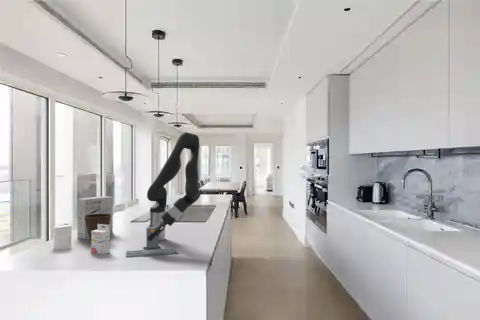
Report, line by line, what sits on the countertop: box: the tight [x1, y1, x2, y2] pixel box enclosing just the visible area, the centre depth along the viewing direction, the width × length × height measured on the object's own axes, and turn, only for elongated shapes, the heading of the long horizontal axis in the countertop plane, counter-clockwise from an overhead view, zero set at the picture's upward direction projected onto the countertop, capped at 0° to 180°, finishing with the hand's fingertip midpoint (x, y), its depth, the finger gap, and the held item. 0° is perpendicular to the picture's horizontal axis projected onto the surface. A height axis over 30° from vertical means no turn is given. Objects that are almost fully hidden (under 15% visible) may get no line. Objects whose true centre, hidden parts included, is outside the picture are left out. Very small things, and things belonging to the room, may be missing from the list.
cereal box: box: [76, 195, 114, 240], centre depth 231 cm, size 22×8×25 cm, turn 150°
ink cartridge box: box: [90, 224, 111, 255], centre depth 187 cm, size 9×5×15 cm, turn 71°
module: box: [145, 226, 160, 248], centre depth 186 cm, size 6×5×10 cm
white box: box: [53, 224, 73, 250], centre depth 198 cm, size 9×9×12 cm
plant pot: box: [84, 214, 111, 241], centre depth 213 cm, size 15×15×16 cm
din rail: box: [125, 245, 178, 258], centre depth 186 cm, size 26×9×3 cm, turn 107°
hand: (148, 238), depth 185 cm, fingers closed on module, 4 cm apart
